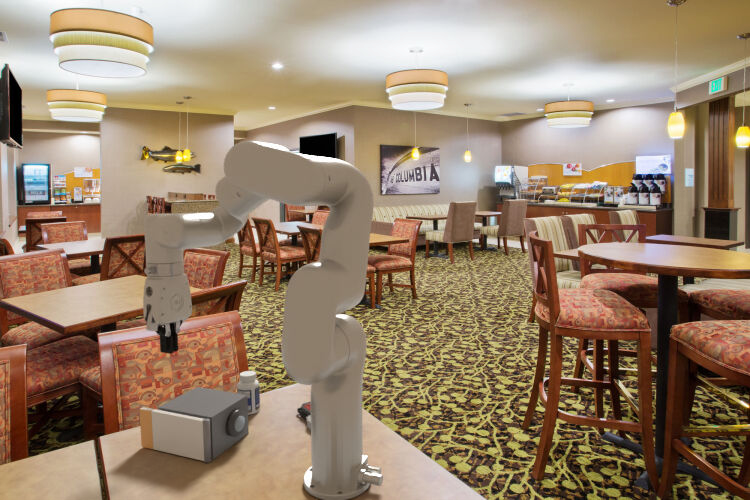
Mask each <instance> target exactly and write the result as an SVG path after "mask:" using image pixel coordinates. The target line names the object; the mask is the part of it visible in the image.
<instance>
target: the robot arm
mask: <svg viewBox="0 0 750 500" xmlns="http://www.w3.org/2000/svg"><path fill="white" fill-rule="evenodd" d="M223 160H224V161H223V172H224V176H223V177H221V179H219V180H218V181H217V183H216V185H215V197H216V199H217V201H218V204H219V205H218V206H217V207H215V208H214V209H211V211H205V212H204V211H203V212H202V211H201V212H200V211H199V212H183V213H182V212H181V213H180V212H179V213H150V214H147V215H146V216H145V218H144V220H143V225H144V226H143V230H144V245H145V246H144V247H145V248H144V249H145V266H146V267H145V268H144V270H143V271H144V272H143V273H145V274H146V277H145V280H144V287H143V295H142V296H143V297H142V298H143V301H142V309H143V310H142V311H143V319H144V322H145V324H146V328H145V329H146V330H147V332H148V331H150V332H155V333H156V334H157V336H159V345H160V346H159V347H160V353H163V354H170V355H171V354H174V352H178V351H179V335H178V334H179V333H180V332H181V331H180V330H181V326H182V324H183V323H185V322H186V321H187V320H188V319H189V317H191V315H192V313H193V304H192V295H191V294H192V293H191V287H190V283H189V279H188V274H186V273H185V266H184V250H189V249H190V250H191V249H198V248H205V247H206V248H207V247H214V246H218V245H220V244H222V243H224V242H226V241H227V240H228V239H230V238H231V237H233V236H234V235H236V234H237V233H238V232H240V231H241V230H242V229H243V228H244V226H246V224H247V222H248V219H249V216H250V214H251V213H252V212H254V211H255V210H256V209H258V208H259V207H260V206H262V205H263V204H265V203H267V202H268V201H269V200H272V201H276V202H278V203H280V204H284V205H289V206H296V207H321V206H326V207H328V208H329V213H328V215H327V217H326V220H325V221H324V224H323V228H322V231H321V240H320V251H319V257H318V260H317V261H315V262H314V261H313V262H311V263H307V264H305V265H302V266H301V267H300V268H298V269H297V270H296V271H294V273H293V274H292V276H291V277H290V279H289V281H288V283H287V286H286V291H285V294H284V295H285V296H284V297H285V298H284V306H283V307H284V309H283V319H282V321H283V322H282V334H281V335H282V336H281V360H282V364H283V367H284V370H285V372H286V373H287V375H288V376H289V378H291V379H292V380H293V381H294V382H296V383H297V384H299V385H305V386H310V401H311V430H310V441H311V442H310V443H311V444H310V445H311V466H310V467H309V468H307V470H306V471H305V473H304V475H303V486H304V490H305V491H306V492H307V493H308V494H309V495H311V496H313V497H314V498H316V499H320V500H349V499H353V498H356V497H358V496H359V495H362V494H363V493H364V492H365V491H367V489H369V487H370V485H374V486H378V487H381V486H382V485H383V482H384V475H383V474H382V473H381V472H382V468H381V467H380V466H371V465H370V464H369V462H368V455H364V454H363V452H364V451H363V446H364V445H363V440H364V439H363V379H364V368H365V362H366V355H367V347H368V346H367V343H368V341H367V335H366V331H365V330H364V328H363V325H362V324H361V322H360V321H359V320H357V319H356V318H355V317H354V316H351V315H349V314H345V313H344V312H346V311H348V310H350V309H353V308H354V307H356V306H357V305H358V304H360V303H361V301H362V300H363V298H364V296H365V291H366V285H367V284H366V283H367V274H368V263H369V262H368V261H369V253H370V252H369V251H370V239H371V232H372V231H371V230H372V223H373V217H374V205H375V204H374V194H373V190H372V187H371V184H370V182H369V180H368V179H367V177H366V176H365V174H364V173H363V172H362V171H361V170H360V169H358V168H357V167H356V166H354V165H352V164H351V163H349V162H347V161H345V160H341V159H339V158H333V157H326V156H319V155H318V156H317V155H312V154H311V155H309V154H303V153H298V152H297V153H296V152H293V151H290V149H288V148H287V147H285V146H283V145H279V144H276V143H270V142H263V141H256V140H242V141H239V142H238V143H235V144H234V145H232V146H231V148H230V149H229V150H228V151H227V152H226V154H225V158H224V159H223Z"/></svg>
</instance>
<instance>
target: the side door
mask: <svg viewBox="0 0 750 500" xmlns="http://www.w3.org/2000/svg"><path fill="white" fill-rule="evenodd" d="M139 423H140V424H139V425H140V439H141V441H140V442H141V448H145V449H150V450H156V451H160V452H164V453H168V454H173V455H175V456H176V455H177V456H181V457H186V458H189V459H194V460H199V461H202V462H203V463H207V464H208V463H211V462H212V461H213V460H212V459H211V434H210V419H203V418H198V417H193V416H187V415H182V414H177V413H172V412H167V411H162V410H158V408H157V409H156V408H152V407H146V406H142V407H140V408H139Z"/></svg>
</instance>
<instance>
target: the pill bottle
mask: <svg viewBox="0 0 750 500" xmlns="http://www.w3.org/2000/svg"><path fill="white" fill-rule="evenodd" d="M236 390H237V391H236V392H237V394H243V395H247V399H248V416H251V415H254V414H257V413H258V412H259V411H260V410H261V395H260V394H261V393H260V391H261V390H260V382H259V380H258V379H257V372H256V371H255V370H245V371H242V372H240V373H239V381H238V383H236Z"/></svg>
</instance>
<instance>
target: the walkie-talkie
mask: <svg viewBox="0 0 750 500" xmlns="http://www.w3.org/2000/svg"><path fill="white" fill-rule="evenodd" d="M297 413H298V414H300V416H301V417H302V418H304V419H305V421H306V429H308V430H309V431H311V400H310V401H307V402H303V403H302V404H301V405H300V407H298V408H297Z"/></svg>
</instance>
